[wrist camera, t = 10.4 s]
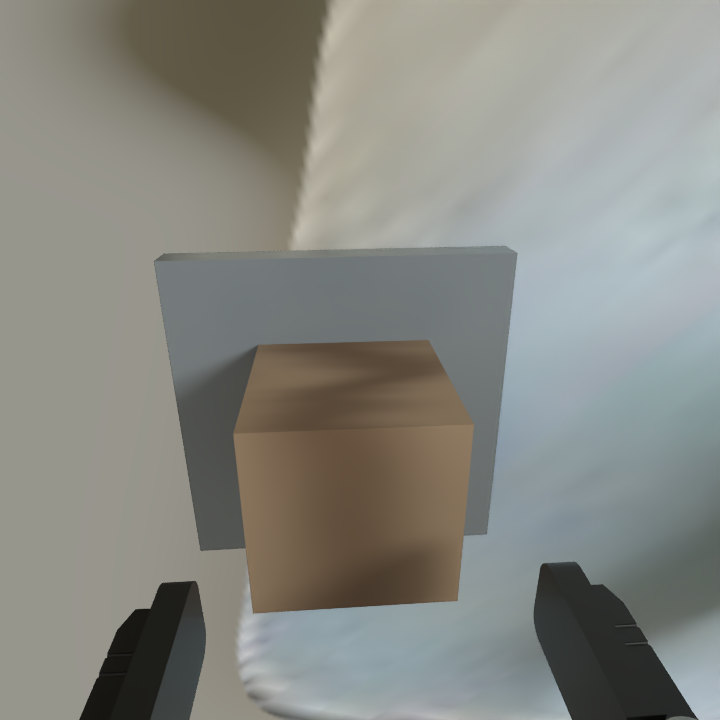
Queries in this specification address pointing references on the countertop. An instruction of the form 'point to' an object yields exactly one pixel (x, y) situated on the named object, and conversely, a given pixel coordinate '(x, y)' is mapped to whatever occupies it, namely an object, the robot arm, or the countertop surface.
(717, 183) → the countertop surface
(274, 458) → the walnut cube
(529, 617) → the countertop surface
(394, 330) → the slate tile
